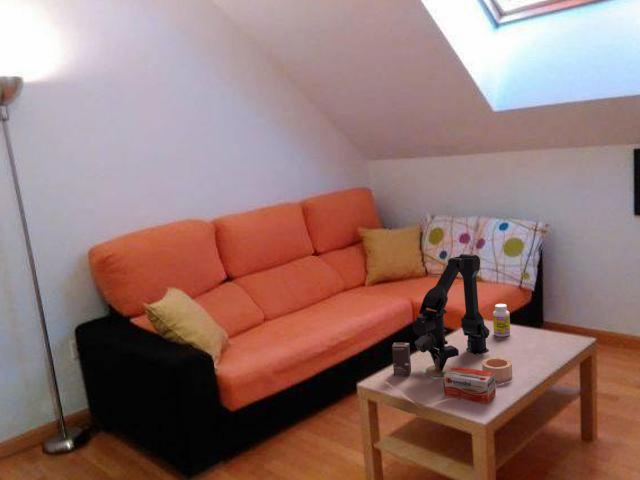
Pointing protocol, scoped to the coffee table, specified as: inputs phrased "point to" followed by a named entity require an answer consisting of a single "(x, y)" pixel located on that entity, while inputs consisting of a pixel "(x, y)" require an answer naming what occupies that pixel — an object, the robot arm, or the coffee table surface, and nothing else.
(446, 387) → the medicine box
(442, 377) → the mat
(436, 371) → the lid
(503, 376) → the bowl
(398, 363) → the box
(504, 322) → the supplement bottle
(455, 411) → the coffee table surface
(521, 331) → the coffee table surface
